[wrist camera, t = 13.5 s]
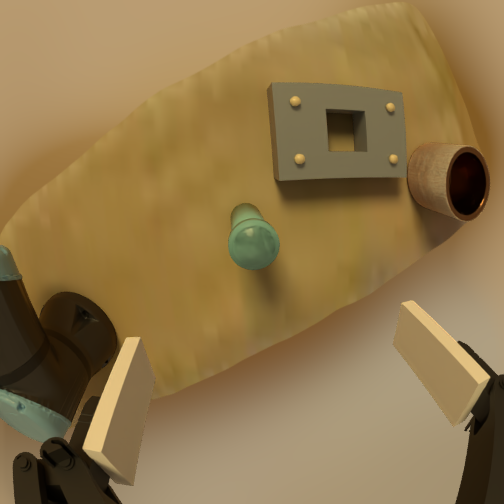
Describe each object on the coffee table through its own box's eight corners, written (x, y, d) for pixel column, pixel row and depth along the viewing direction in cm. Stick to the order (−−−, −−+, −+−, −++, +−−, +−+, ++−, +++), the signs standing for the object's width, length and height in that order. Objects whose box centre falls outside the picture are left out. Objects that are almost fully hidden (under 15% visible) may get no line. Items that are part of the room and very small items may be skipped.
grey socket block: (273, 178, 37) (280, 181, 32) (266, 89, 32) (272, 81, 28) (392, 174, 38) (409, 178, 33) (387, 96, 33) (404, 92, 29)
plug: (229, 236, 39) (231, 272, 27) (225, 202, 37) (225, 223, 26) (264, 233, 39) (280, 266, 28) (262, 198, 37) (278, 218, 26)
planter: (444, 214, 40) (481, 229, 31) (398, 199, 39) (436, 213, 30) (456, 155, 37) (495, 160, 28) (411, 132, 36) (452, 132, 27)
